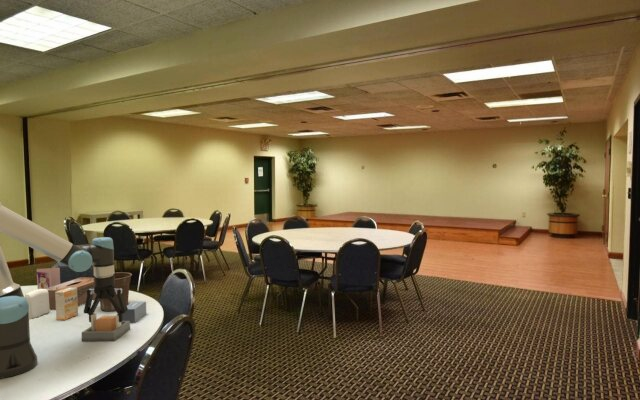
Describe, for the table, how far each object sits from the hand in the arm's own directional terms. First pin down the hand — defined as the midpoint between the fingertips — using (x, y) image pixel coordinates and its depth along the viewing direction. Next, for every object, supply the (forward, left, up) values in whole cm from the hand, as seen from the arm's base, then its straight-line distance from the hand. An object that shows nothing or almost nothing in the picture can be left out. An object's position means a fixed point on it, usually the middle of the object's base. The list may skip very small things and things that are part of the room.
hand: (106, 329), depth 171 cm
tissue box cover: (+46, +41, -3) cm, 62 cm away
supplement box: (+22, +30, -2) cm, 37 cm away
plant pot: (+36, +15, -2) cm, 39 cm away
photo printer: (+25, +46, -2) cm, 52 cm away
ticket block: (+20, -2, -2) cm, 20 cm away
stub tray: (0, 0, -2) cm, 2 cm away
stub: (0, 0, -1) cm, 1 cm away
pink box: (+59, +63, -2) cm, 86 cm away
